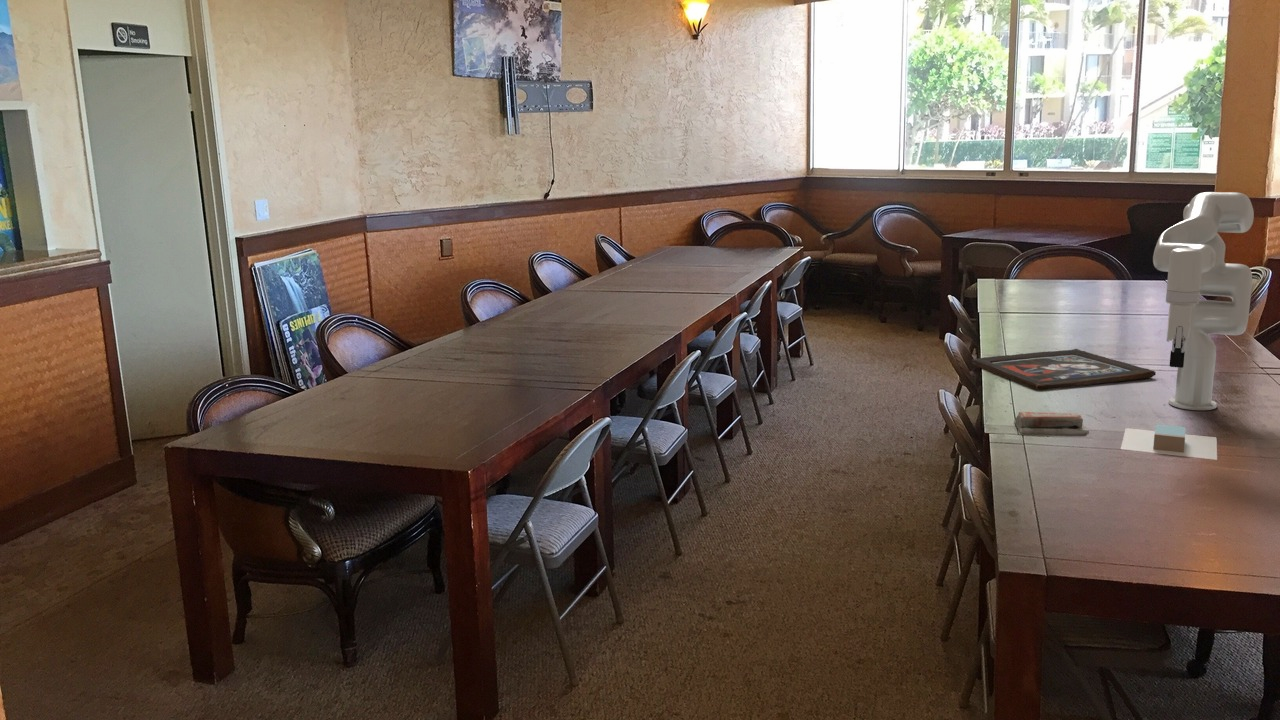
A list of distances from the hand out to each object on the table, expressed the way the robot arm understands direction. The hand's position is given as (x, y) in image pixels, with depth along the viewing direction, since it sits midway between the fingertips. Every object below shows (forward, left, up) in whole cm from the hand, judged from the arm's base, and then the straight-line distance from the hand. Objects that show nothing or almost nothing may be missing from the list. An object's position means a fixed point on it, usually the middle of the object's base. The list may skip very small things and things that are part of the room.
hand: (1176, 366), depth 266 cm
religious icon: (-73, -35, -22) cm, 84 cm away
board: (0, 0, -21) cm, 21 cm away
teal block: (-3, 0, -19) cm, 19 cm away
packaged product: (-3, -30, -22) cm, 37 cm away
